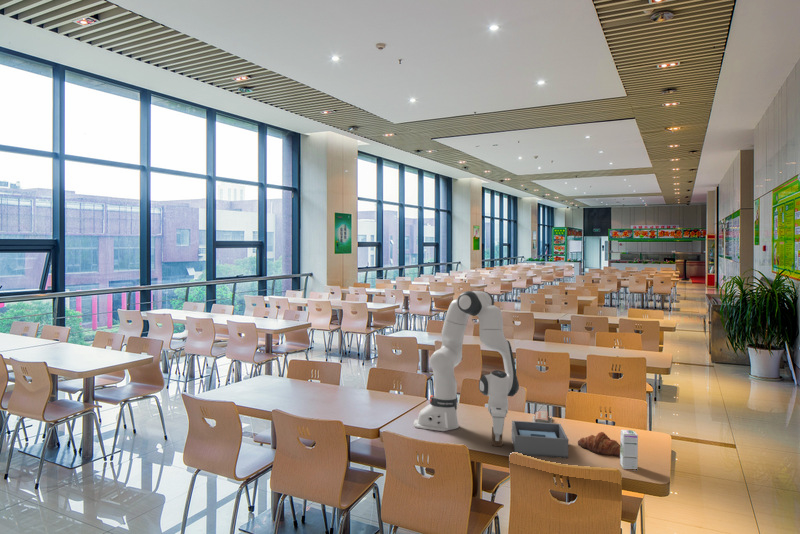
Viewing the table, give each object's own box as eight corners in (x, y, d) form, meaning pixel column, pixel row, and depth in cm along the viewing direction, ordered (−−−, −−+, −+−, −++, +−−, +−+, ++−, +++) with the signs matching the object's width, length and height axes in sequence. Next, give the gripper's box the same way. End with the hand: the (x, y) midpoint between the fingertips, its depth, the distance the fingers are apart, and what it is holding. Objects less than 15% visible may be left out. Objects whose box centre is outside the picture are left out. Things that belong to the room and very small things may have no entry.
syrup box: (637, 470, 216) (639, 434, 215) (622, 469, 217) (623, 433, 217) (634, 465, 221) (635, 430, 221) (619, 464, 222) (620, 429, 222)
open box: (514, 454, 230) (515, 435, 230) (511, 437, 252) (512, 420, 252) (567, 458, 227) (568, 439, 227) (559, 441, 249) (560, 423, 249)
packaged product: (552, 420, 267) (532, 418, 269) (552, 430, 267) (531, 427, 269) (552, 410, 284) (533, 408, 287) (552, 419, 284) (532, 417, 287)
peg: (491, 445, 240) (492, 429, 240) (491, 442, 245) (492, 426, 245) (502, 446, 240) (502, 430, 239) (501, 442, 244) (502, 427, 244)
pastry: (613, 445, 246) (613, 427, 246) (628, 457, 231) (629, 439, 230) (577, 444, 245) (577, 427, 245) (590, 457, 230) (590, 438, 230)
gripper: (490, 401, 253) (489, 430, 253) (491, 413, 232) (490, 445, 233) (504, 402, 252) (503, 431, 252) (506, 414, 231) (505, 446, 232)
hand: (497, 438), depth 242 cm, fingers closed on peg, 4 cm apart
